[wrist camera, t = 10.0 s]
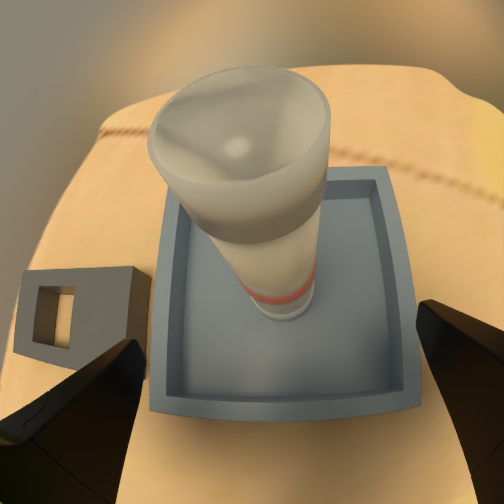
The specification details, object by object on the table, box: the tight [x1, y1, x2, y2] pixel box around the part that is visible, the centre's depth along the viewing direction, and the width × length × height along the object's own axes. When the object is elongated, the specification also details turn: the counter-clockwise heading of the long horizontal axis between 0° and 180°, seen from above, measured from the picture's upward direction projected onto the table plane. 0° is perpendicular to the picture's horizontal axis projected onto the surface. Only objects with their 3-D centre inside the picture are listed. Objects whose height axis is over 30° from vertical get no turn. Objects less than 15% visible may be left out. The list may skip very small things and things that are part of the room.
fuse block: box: [13, 266, 151, 380], centre depth 18 cm, size 7×12×2 cm, turn 90°
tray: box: [150, 166, 421, 422], centre depth 16 cm, size 14×14×3 cm
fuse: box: [147, 66, 331, 322], centre depth 11 cm, size 3×3×13 cm
